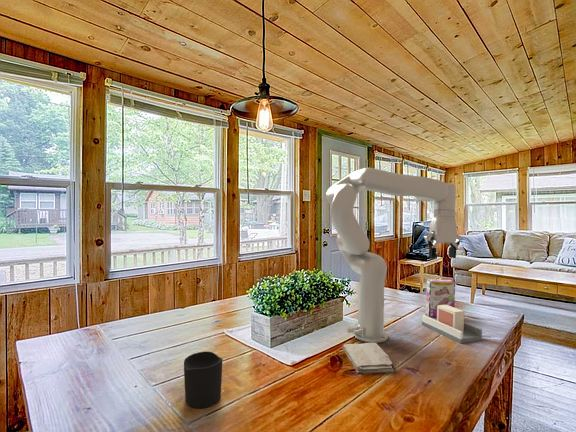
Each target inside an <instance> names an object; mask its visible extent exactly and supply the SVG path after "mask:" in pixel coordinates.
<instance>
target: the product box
mask: <svg viewBox="0 0 576 432" xmlns="http://www.w3.org/2000/svg"><path fill="white" fill-rule="evenodd" d="M436 320H437V321H439V322H441V323H443V324H445V325H448V326H450V327H452V328H455V329H457V330H459V331H461V332H464V323H465V311H464V310H462V309H459V308H457V307H455V306H454V307H451V306H449V305H437V317H436Z"/></svg>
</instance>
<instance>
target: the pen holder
mask: <svg viewBox="0 0 576 432" xmlns="http://www.w3.org/2000/svg"><path fill="white" fill-rule="evenodd" d="M183 374H184V375H183V376H184V378H183V381H184V396H185V397H184V399H185V400H184V401H185V403H186V404H187V406H189V407H191V408H193V409H205V408H209V407H211V406H214V405H215V404H216V403H218V401H219V400H220V398H221V395H222V381H223V380H222V379H223V378H222V377H223V358H222V357H219V356H218V354H216V353H215V352H212V351H207V350H206V351H198V352H195V353H192V354H190V355H188V356H187V357H186V358H184V361H183Z"/></svg>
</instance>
